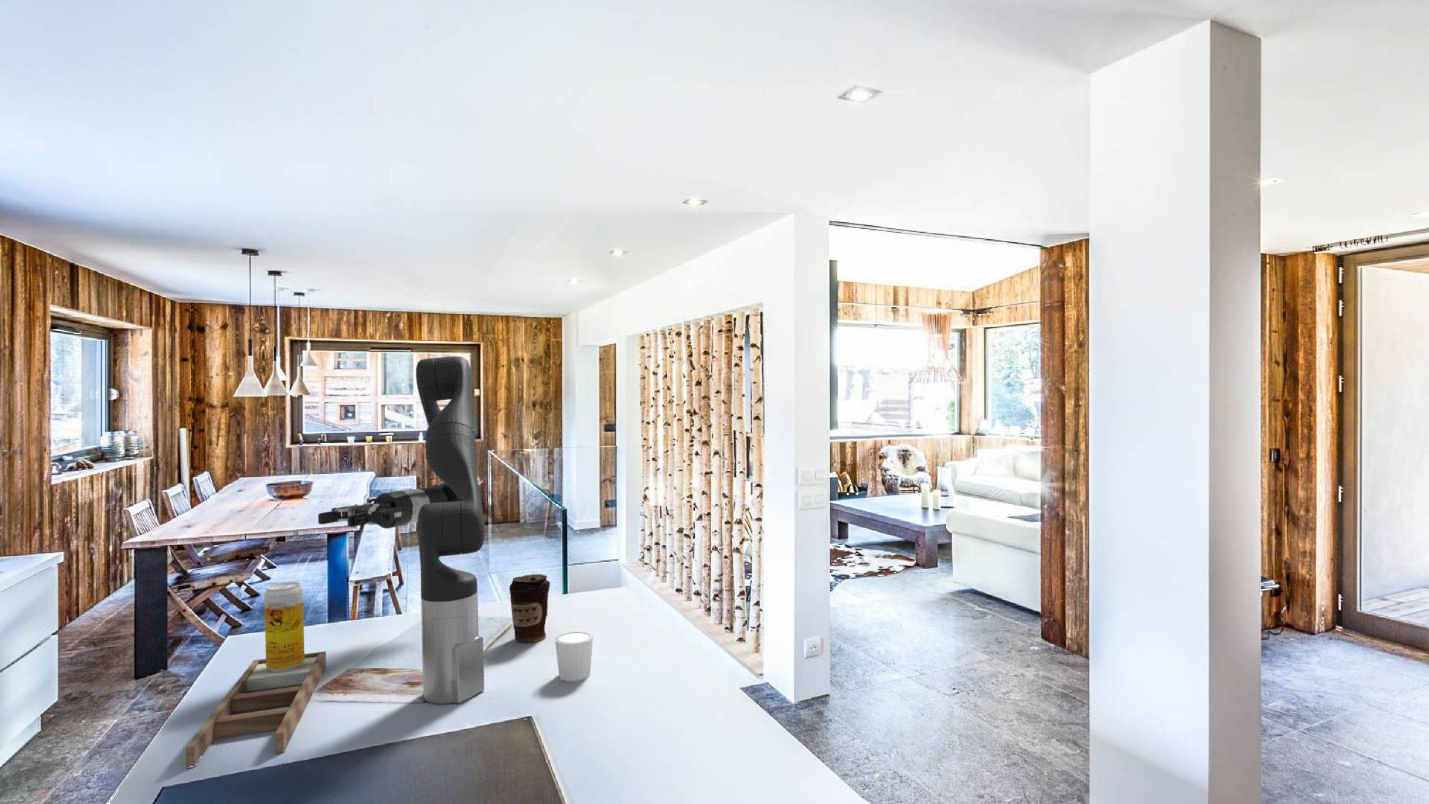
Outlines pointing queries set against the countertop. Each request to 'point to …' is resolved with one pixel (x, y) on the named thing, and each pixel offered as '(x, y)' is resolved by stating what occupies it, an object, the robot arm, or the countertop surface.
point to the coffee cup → (529, 606)
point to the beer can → (284, 626)
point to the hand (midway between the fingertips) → (333, 520)
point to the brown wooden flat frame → (261, 705)
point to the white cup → (574, 655)
